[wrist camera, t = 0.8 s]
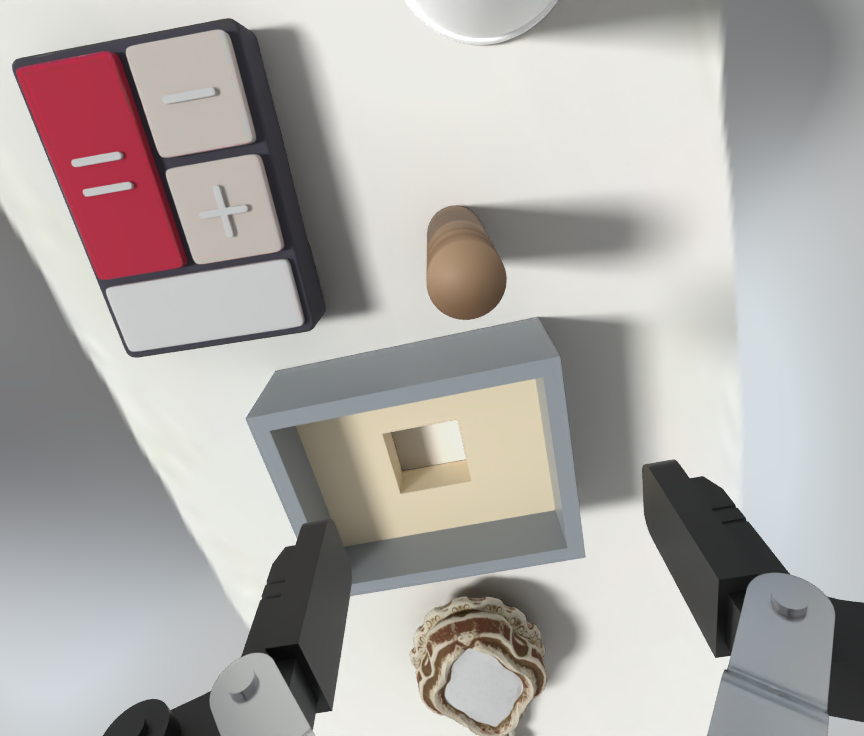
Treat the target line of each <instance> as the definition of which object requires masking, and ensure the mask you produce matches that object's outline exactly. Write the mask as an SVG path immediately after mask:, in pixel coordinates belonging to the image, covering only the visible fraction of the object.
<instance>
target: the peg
mask: <svg viewBox="0 0 864 736" xmlns="http://www.w3.org/2000/svg"><path fill="white" fill-rule="evenodd" d="M505 288H506V271H505V268H504V265H503V263H502V261H501V259H500V257H499V255H498V253H497V252H496V250H495V248H494V246H493V244H492V242H491V240H490V239H489V237H488V235H487V233H486V231H485V229H484V227H483V226H482V224H481V222H480V220H479V218H478V217H477V215H476V214H475V213H474V212H472V211H471V210H469V209H468V208H465V207H462V206H449V207H446V208H444V209H442V210H440V211H439V212H437V213H436V214H435V215H434V217H433V218H432V219H431V221H430V223H429V226H428V231H427V290H428V294H429V296H430V298H431V300H432V302H433V304H434V305H435V306H436V307H437V308H438V309H439V310H440V311H441V312H443V313H444V314H446V315H448V316H450V317H452V318H456V319H462V320H470V319H475V318H479V317H481V316H484V315H485V314H487V313H489V312H490V311H491V310H493V309H494V308H495V307H496V306H497V304H498V303H499V302H500V300H501V299H502V297H503V294H504V292H505Z"/></svg>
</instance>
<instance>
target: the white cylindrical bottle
mask: <svg viewBox="0 0 864 736" xmlns="http://www.w3.org/2000/svg"><path fill="white" fill-rule="evenodd" d="M404 1H405V2H406V4H407V5H408V6H409V8H410V9H411V10H412V11H413V13H414V14H415V15H416V16H417V17H418V18H419V19H420V20H421V21H422V22H423V23H424V24H425V25H427V26H428V27H429V28H431V29H432V30H433V31H435V32H436V33H438V34H440V35H442V36H444V37H446V38H448V39H451V40H453V41H456V42H460V43H464V44H470V45H490V44H496V43H500V42H504V41H507V40H510V39H512V38H515V37H517V36H519V35H521V34H522V33H524V32H526V31H527V30H529V29H530V28H532V27H533V26H535V25H536V24H537V23H538V22H539V21H541V20H542V19H543V18H544V17H545V16H546V15H547V14H548V13H549V12H550V10H551V9H552V8H553V7H554V6H555V4H556V3H557V2H558V0H404Z"/></svg>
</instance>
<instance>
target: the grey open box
mask: <svg viewBox="0 0 864 736" xmlns="http://www.w3.org/2000/svg"><path fill="white" fill-rule="evenodd" d="M452 420H457V421H458V425H459V429H460V434H461V438H462V442H463V447H464V451H465V455H466V460H461V461H456V462H450V463H445V464H439V465H434V466H429V467H423V468H418V469H412V470H407V471H402V469H401V466H400V462H399V459H398V455H397V452H396V449H395V445H394V442H393V439H392V435H391V432H395V431H400V430H405V429H410V428H416V427H421V426H426V425H431V424H436V423H442V422H447V421H452ZM246 421H247V423H248V426H249V428H250V430H251V433H252V435H253V437H254V440H255V442H256V444H257V447H258V449H259V451H260V454H261V456H262V458H263V461H264V463H265V465H266V468H267V470H268V472H269V475H270V477H271V479H272V482H273V484H274V486H275V488H276V491H277V493H278V495H279V498H280V500H281V502H282V505H283V507H284V509H285V512H286V514H287V516H288V519H289V521H290V523H291V526H292V528H293V530H294V533H295V535H296V537H297V539H298V535H299V532H300V529H301V526H302V525H303V524H304V523H309V522H314V521H320V520H326V519H332V520H333V521H334V522H335V524H336V527H337V529H338V532H339V534H340V537H341V540H342V542H343V545H344V547H345V550H346V552H347V555H348V558H349V560H350V564H351V570H352V586H351V592H350V596H354V595H360V594H366V593H372V592H378V591H385V590H391V589H397V588H403V587H409V586H415V585H421V584H427V583H433V582H439V581H445V580H451V579H457V578H463V577H469V576H476V575H482V574H488V573H494V572H500V571H506V570H512V569H518V568H524V567H530V566H536V565H542V564H548V563H554V562H560V561H567V560H573V559H579V558H585V549H584V541H583V533H582V525H581V517H580V509H579V501H578V493H577V485H576V478H575V470H574V462H573V454H572V446H571V438H570V430H569V422H568V414H567V406H566V398H565V390H564V382H563V374H562V366H561V358H560V355H559V353H558V351H557V350H556V348H555V346H554V344H553V343H552V341H551V339H550V337H549V336H548V334H547V332H546V330H545V329H544V327H543V325H542V323H541V321H540V320H539V318H538V317H536V318H531V319H526V320H521V321H516V322H511V323H506V324H502V325H497V326H492V327H487V328H482V329H477V330H473V331H468V332H463V333H458V334H453V335H448V336H443V337H439V338H434V339H429V340H424V341H419V342H414V343H409V344H405V345H400V346H395V347H390V348H385V349H380V350H376V351H371V352H366V353H361V354H356V355H351V356H346V357H342V358H337V359H332V360H327V361H322V362H317V363H312V364H308V365H303V366H298V367H293V368H288V369H283V370H279V371H275V373H274V374H273V376H272V377H271V379H270V381H269V382H268V384H267V385H266V387H265V389H264V390H263V392H262V393H261V395H260V396H259V398H258V400H257V401H256V403H255V404H254V406H253V408H252V409H251V411H250V412H249V414H248V416H247V417H246Z"/></svg>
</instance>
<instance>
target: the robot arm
mask: <svg viewBox="0 0 864 736" xmlns="http://www.w3.org/2000/svg"><path fill="white" fill-rule="evenodd" d="M642 479H643V502H644V515H645V520H646V524H647V527H648V530H649V533H650V535H651V537H652V539H653V541H654V543H655V545H656V547H657V549H658V550H659V552H660V554H661V556H662V558H663V560H664V562H665V564H666V566H667V567H668V569H669V571H670V573H671V575H672V577H673V579H674V581H675V583H676V584H677V586H678V588H679V590H680V592H681V594H682V596H683V598H684V600H685V601H686V603H687V605H688V607H689V609H690V611H691V613H692V615H693V617H694V618H695V620H696V622H697V624H698V626H699V628H700V630H701V632H702V634H703V635H704V637H705V639H706V641H707V643H708V645H709V647H710V649H711V651H712V652H713V654H714V656H715V658H718V657H725V656H731V657H730V661H729V665H728V668H727V670H724V672H723V675H722V678H721V682H720V686H719V690H718V694H717V698H716V702H715V706H714V710H713V714H712V718H711V722H710V726H709V730H708V734H707V736H827V735H828V723H829V722H828V721H829V716H834V717H839V718H844V719H850V720H855V721H860V722H864V603H861V602H852V601H845V600H839V599H835V598H830V597H827V596H826V595H825V594H824V593H823V592H822V591H821V590H820V589H818V588H817V587H816V586H815V585H813V584H811V583H809V582H808V581H806V580H804V579H802V578H799V577H796V576H793V575H790V573H788V571H787V570H786V569H785V567H784V566H783V565H782V564H781V562H780V561H779V560H778V559H777V557H776V556H775V555H774V553H773V552H772V551H771V550H770V548H769V547H768V546H767V545H766V543H765V542H764V541H763V539H762V538H761V537H760V536H759V534H758V533H757V532H756V531H755V529H754V528H753V527H752V525H751V524H750V523H749V522H747V521H746V518H745V517H744V515H743V514H742V513H741V511H740V510H739V509H738V508H736V506H735V504H734V503H733V501H732V500H731V499H730V497H729V496H728V495H727V494H726V492H725V491H724V490H723V489H722V488H721V487H719V486H718V485H716V484H714V483H713V482H711V481H710V480H708V479H706V478H705V477H703V476H701V477H696V478H689V477H688V475H687V474H686V473H685V471H684V470H683V468H682V467H681V466H680V464H679V463H678V462H677V461H676V460H668V461H662V462H656V463H651V464H645V465H643V468H642ZM351 586H352V570H351V564H350V560H349V558H348V555H347V552H346V550H345V547H344V545H343V542H342V540H341V537H340V534H339V532H338V529H337V527H336V524H335V522H334V521H333V520H332V519H326V520H320V521H314V522H309V523H304V524H303V525H302V526H301V529H300V532H299V535H298V539H297V542H296V545H294V546H288V547H285V548H284V550H283V551H282V552H281V554H280V555H279V556H278V557H277V559H276V560H275V561H274V563H273V564H272V567H271V570H270V573H269V576H268V579H267V585H265V588H264V591H263V594H262V600H260V603H259V606H258V609H257V612H256V615H255V618H254V621H253V624H252V627H251V629H250V632H249V635H248V638H247V641H246V644H245V647H244V650H243V654H242V656H241V658H239V659H237V660H235V661H234V662H233V663H231V664H230V665H229V666H228V667H227V668H226V669H225V670H224V671H223V672H222V673H221V674H220V675H219V677H218V678H217V680H216V682H215V683H214V685H213V687H212V690H211V691H210V692H208V693H206V694H204V695H202V696H200V697H198V698H196V699H194V700H191V701H189V702H187V703H185V704H183V705H181V706H179V707H177V708H174V709H172V710H170V709H169V708H168V707H167V706H166V704H165V703H164V702H162V701H161V700H158V699H150V700H145V701H142V702H140V703H137V704H135V705H134V706H132V707H130V708H129V709H127V710H126V711H124V712H123V713H122V714H121V715H120V716H119V717H118V718H117V719H116V720H115V721H114V722H113V723H112V724H111V725H110V726H109V728H108V729H107V730H106V732H105V733H104V735H103V736H315V734H314V732H313V725H314V720H315V714H316V713H321V712H328V711H332V708H333V701H334V695H335V689H336V682H337V676H338V669H339V663H340V657H341V650H342V644H343V637H344V631H345V624H346V618H347V612H348V605H349V599H350V592H351Z"/></svg>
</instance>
